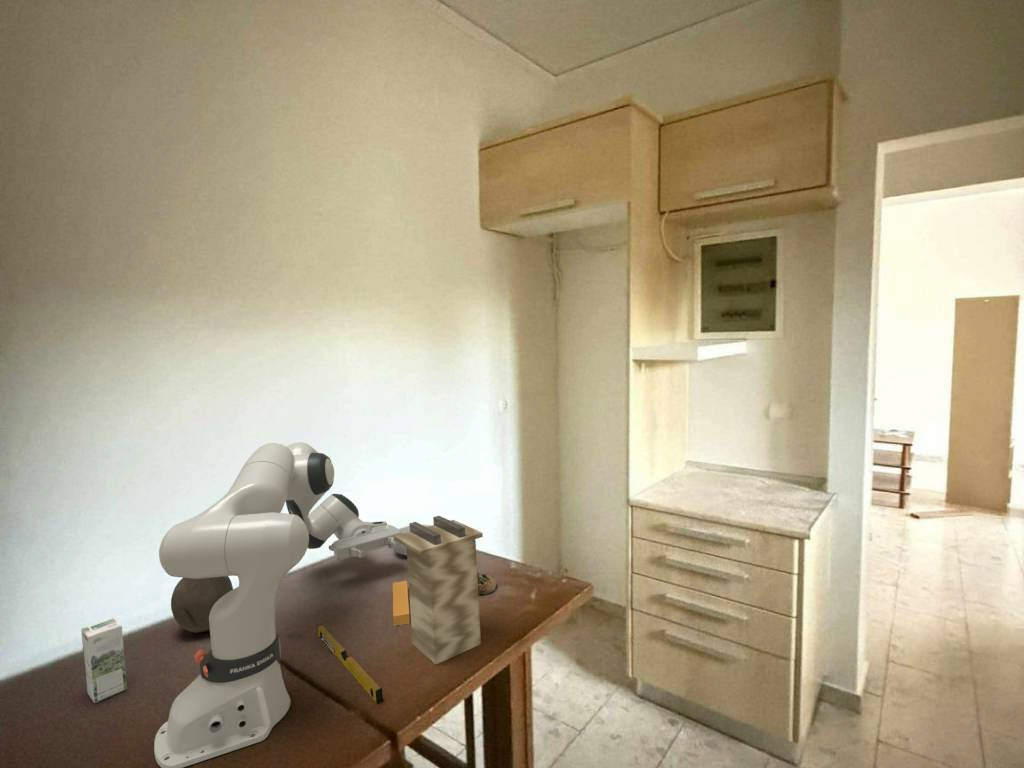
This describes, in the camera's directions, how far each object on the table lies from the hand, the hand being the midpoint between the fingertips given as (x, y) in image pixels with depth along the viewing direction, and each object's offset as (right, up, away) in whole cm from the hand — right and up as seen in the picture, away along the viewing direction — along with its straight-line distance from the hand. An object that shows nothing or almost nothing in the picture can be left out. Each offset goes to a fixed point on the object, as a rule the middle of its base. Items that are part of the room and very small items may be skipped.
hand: (378, 550), depth 152 cm
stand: (+23, -12, -29) cm, 39 cm away
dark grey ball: (-40, -15, -17) cm, 46 cm away
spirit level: (+2, -14, -36) cm, 39 cm away
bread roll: (+29, -11, -1) cm, 31 cm away
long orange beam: (+9, -12, -10) cm, 19 cm away
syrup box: (-46, -17, -42) cm, 65 cm away
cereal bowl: (+6, -10, +28) cm, 30 cm away
